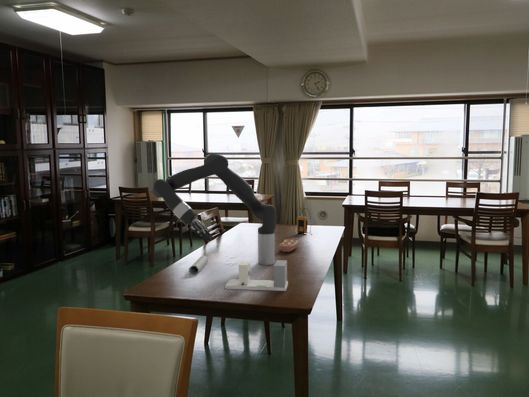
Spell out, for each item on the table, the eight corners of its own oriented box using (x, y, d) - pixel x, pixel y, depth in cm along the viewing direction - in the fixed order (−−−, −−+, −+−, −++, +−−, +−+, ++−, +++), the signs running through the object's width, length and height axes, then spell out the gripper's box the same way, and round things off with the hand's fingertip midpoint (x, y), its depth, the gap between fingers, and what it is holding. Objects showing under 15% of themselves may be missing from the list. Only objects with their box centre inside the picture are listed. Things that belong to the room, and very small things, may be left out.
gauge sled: (241, 280, 211) (241, 261, 210) (252, 280, 210) (252, 261, 209) (238, 285, 203) (237, 266, 202) (249, 285, 202) (248, 266, 201)
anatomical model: (286, 245, 294) (286, 238, 293) (300, 246, 291) (300, 238, 290) (277, 253, 272) (277, 245, 271) (293, 254, 269) (293, 246, 268)
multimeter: (315, 233, 335) (315, 206, 332) (309, 235, 326) (309, 208, 324) (298, 231, 343) (298, 205, 340) (292, 233, 334) (292, 207, 332)
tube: (198, 256, 252) (187, 267, 227) (207, 253, 251) (196, 264, 226) (201, 264, 252) (190, 276, 227) (210, 261, 251) (200, 273, 227)
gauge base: (230, 282, 214) (229, 258, 213) (288, 284, 210) (288, 260, 208) (225, 288, 204) (224, 264, 203) (285, 290, 200) (285, 266, 199)
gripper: (185, 209, 201) (211, 236, 200) (194, 205, 215) (219, 231, 214) (174, 221, 202) (200, 248, 202) (184, 216, 216) (209, 241, 215)
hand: (210, 239), depth 208 cm, fingers open, 3 cm apart
